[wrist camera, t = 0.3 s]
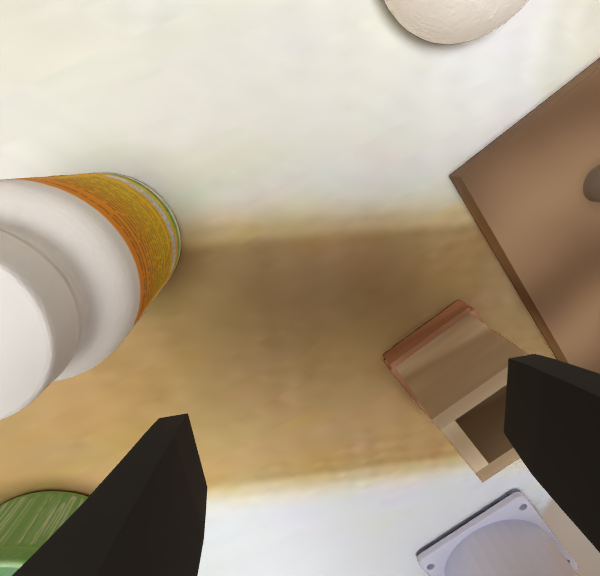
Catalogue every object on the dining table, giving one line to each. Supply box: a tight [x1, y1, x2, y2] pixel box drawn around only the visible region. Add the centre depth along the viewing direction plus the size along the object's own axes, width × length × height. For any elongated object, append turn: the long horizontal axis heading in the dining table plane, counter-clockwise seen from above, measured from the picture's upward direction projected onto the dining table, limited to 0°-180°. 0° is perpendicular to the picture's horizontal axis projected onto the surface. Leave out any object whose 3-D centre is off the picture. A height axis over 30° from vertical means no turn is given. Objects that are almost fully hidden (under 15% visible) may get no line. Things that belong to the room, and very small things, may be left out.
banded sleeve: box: [383, 300, 528, 482], centre depth 17 cm, size 5×5×5 cm
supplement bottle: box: [0, 173, 181, 420], centre depth 11 cm, size 5×5×10 cm
